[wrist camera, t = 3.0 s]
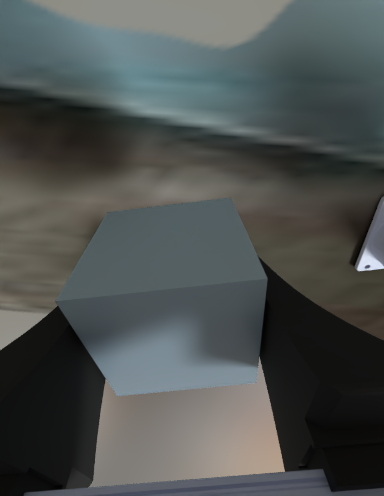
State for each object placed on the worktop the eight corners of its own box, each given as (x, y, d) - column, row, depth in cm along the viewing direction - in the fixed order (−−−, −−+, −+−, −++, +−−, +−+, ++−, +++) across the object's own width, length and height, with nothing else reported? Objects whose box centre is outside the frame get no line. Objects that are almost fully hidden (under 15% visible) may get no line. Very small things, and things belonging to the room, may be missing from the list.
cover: (230, 197, 11) (267, 278, 6) (231, 287, 14) (256, 382, 9) (107, 212, 11) (55, 301, 6) (137, 297, 14) (117, 396, 10)
